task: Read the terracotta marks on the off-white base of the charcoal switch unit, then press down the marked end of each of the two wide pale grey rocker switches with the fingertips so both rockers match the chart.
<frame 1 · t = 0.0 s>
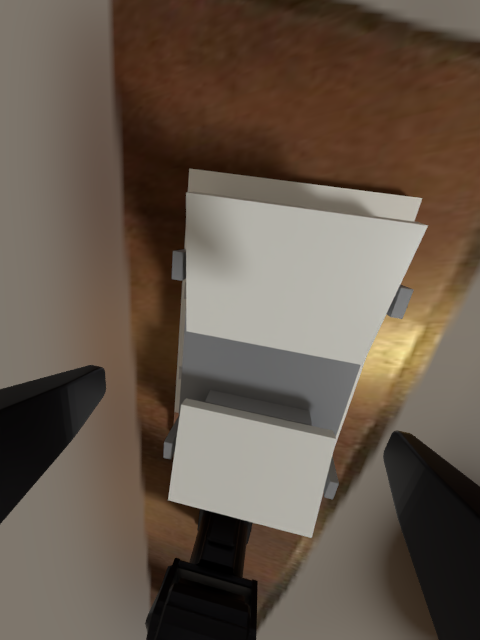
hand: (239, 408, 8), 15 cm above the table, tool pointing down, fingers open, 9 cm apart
switch unit: (268, 344, 23), on the table
rocker 2: (247, 463, 19), point 7 cm above the table, hinge at 11.0°
rocker 1: (284, 283, 14), point 7 cm above the table, hinge at -11.0°
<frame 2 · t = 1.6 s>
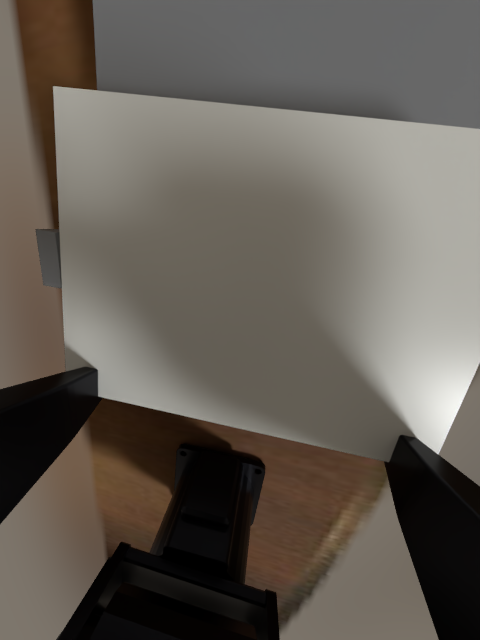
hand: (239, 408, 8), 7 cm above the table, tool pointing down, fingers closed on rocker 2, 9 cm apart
switch unit: (298, 101, 11), on the table
rocker 2: (260, 291, 7), point 7 cm above the table, hinge at 4.8°, touching gripper
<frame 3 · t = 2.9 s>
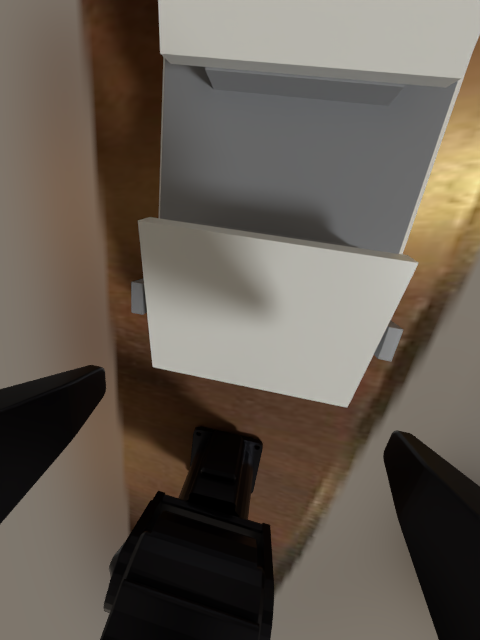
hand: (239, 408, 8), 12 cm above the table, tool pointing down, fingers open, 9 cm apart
switch unit: (283, 186, 16), on the table
rocker 2: (258, 318, 12), point 7 cm above the table, hinge at -12.0°, touching switch unit
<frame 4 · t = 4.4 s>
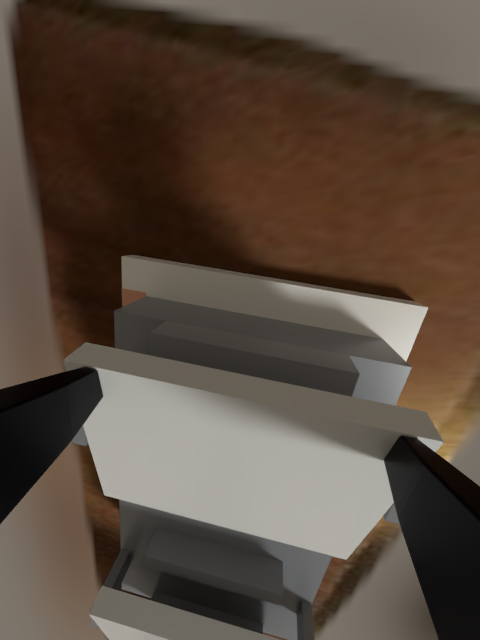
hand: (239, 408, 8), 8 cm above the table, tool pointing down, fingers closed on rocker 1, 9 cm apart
switch unit: (235, 452, 18), on the table
rocker 2: (200, 638, 14), point 7 cm above the table, hinge at -11.5°
rocker 1: (231, 455, 10), point 7 cm above the table, hinge at -10.4°, touching gripper
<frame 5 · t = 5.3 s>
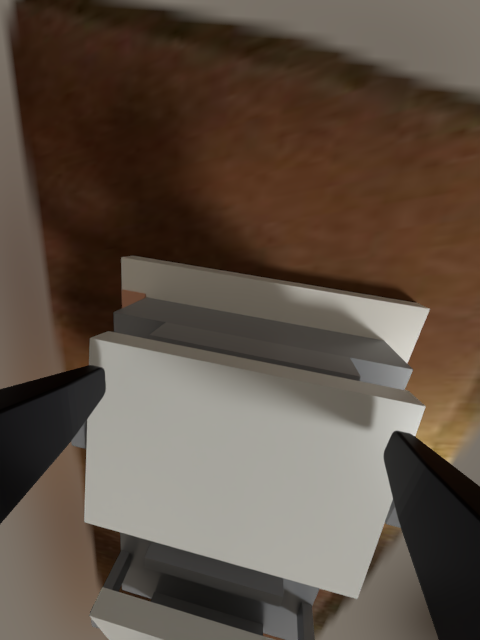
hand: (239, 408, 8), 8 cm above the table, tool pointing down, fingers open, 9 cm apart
switch unit: (236, 453, 18), on the table
rocker 2: (200, 639, 14), point 7 cm above the table, hinge at -11.5°
rocker 1: (232, 456, 10), point 7 cm above the table, hinge at 7.2°
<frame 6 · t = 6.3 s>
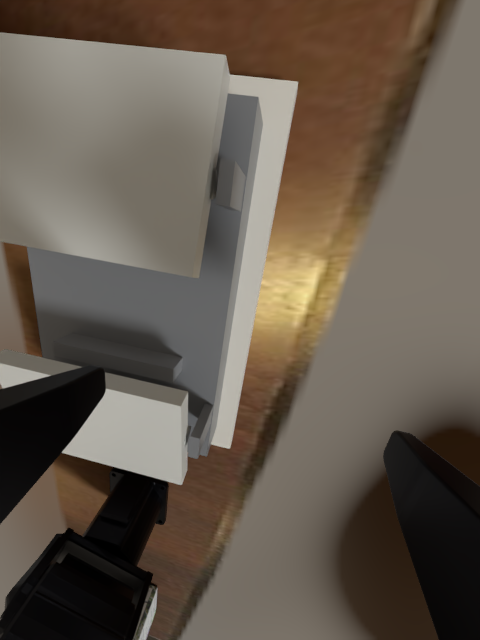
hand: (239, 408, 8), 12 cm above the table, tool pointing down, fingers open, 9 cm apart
switch unit: (156, 288, 20), on the table
rocker 2: (103, 418, 16), point 7 cm above the table, hinge at -11.4°
rocker 1: (90, 163, 11), point 7 cm above the table, hinge at 11.7°, touching switch unit
syrup box: (139, 588, 35), on the table
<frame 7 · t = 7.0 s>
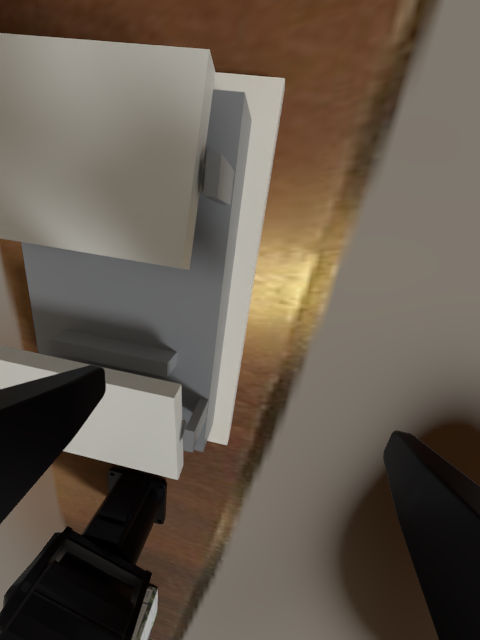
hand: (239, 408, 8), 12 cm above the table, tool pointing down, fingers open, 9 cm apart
switch unit: (151, 285, 20), on the table
rocker 2: (98, 413, 16), point 7 cm above the table, hinge at -11.4°
rocker 1: (81, 159, 11), point 7 cm above the table, hinge at 11.1°
syrup box: (140, 590, 35), on the table
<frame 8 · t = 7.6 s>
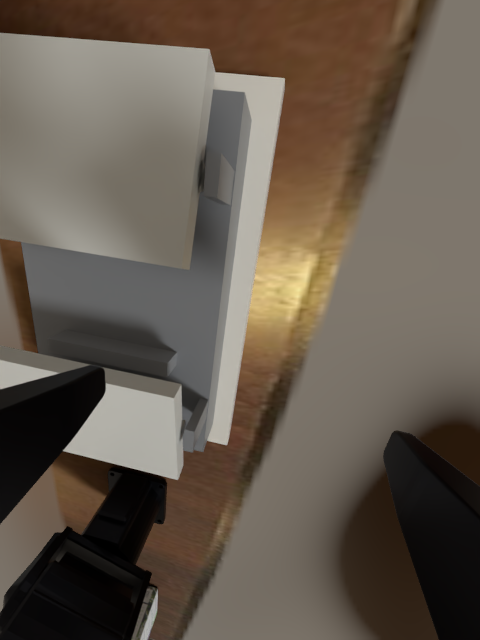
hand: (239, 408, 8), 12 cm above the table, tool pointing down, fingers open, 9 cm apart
switch unit: (151, 285, 20), on the table
rocker 2: (98, 413, 16), point 7 cm above the table, hinge at -11.4°
rocker 1: (81, 159, 11), point 7 cm above the table, hinge at 10.9°
syrup box: (140, 590, 35), on the table
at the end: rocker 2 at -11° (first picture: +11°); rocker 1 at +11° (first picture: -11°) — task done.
